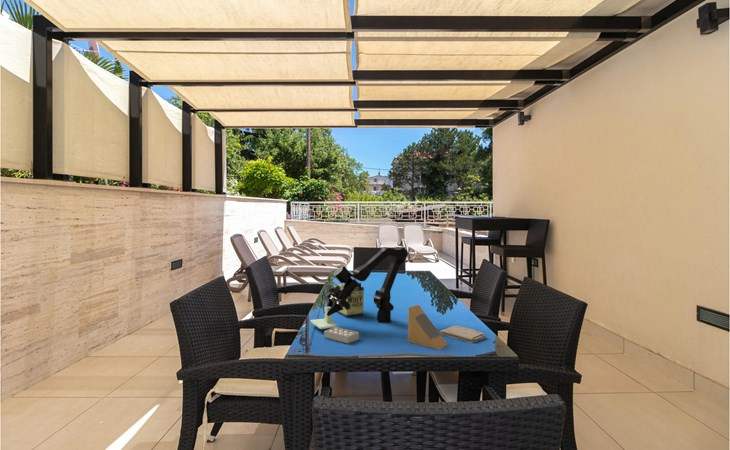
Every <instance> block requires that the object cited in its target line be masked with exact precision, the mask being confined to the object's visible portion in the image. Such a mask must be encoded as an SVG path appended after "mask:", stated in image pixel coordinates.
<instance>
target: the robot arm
mask: <svg viewBox="0 0 730 450" xmlns="http://www.w3.org/2000/svg"><path fill="white" fill-rule="evenodd" d="M388 256H390V260H391V262H390V264H389V268H388V270H387V274H385V277H384V281H383V283H382V285H381V288H380V289H379V290H378V289H376V290H375V292H374V295H373V303H374V305H375V306H376V308H377V309H378V310H377V311H376V317H377V319H376V320H377V323H389V324H390V323H391V322H392V317H391V315H392V311H394V308H395V306H394V305H393V303H391V292H392V289H393V286H394V282H395V280H396V277H397V274H398V272H399V269H400V267H401V265H403V264H404V263H405V261H406V259H407V258H408V256H409V252H408V250H407V249H406V248H405V247H398V246H397V247H395V248H391V247H388V246H387V247H385V246H384V247H382V248H381V249H380V250H379V251H378V252H377V253H376V254H375V255H373V257H371V258H370V259H369V260H368V261H366V263H364V264H362V265H360V266H358V267H356V268H354V269H353V270H352V271H349V270H348V269H347V268H346V266H345V265H342V266H339V267H338V268H337V269H335V270H334V272H333V277H334V278H335V279H336V280H337V281H338V282H339V284H344V285H343V286H342V287H339V286H336V285H331V284H328V285H327V287H326V289H325V291H327V292H326V293H325V294H324V296H325V297H326V298H327V304H326V306H325V307H328V306H330V307H331V308H330V310H329V311H328V313H327V316H329V315H332V316H333V315H334V314H335V313H337V312H338V311H341V310H343V307H344V308H345V309H346V310H347V311H348V310H349V309H350V304H349V303H348V302H347V301H346V299H347V298H348V297H351V294H352V292H353V291H354V290H355V289H356V288H360V289H361V286H362V283H361V282H365V281H366V280H367V279H369V277H370V275H371V273H372V271H373V270H374V269H375V268H377V266H378V265H380V264H381V263H382V262H383V261H384V260H385V259H386V258H387V257H388ZM358 281H359V282H358ZM323 314H324V315H325V310H323Z"/></svg>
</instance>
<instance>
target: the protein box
mask: <svg viewBox="0 0 730 450" xmlns="http://www.w3.org/2000/svg"><path fill="white" fill-rule="evenodd" d="M344 284H345V283H335V285H336V286H339V287H342V286H343V285H344ZM335 285H334V286H335ZM364 300H365V287H364V286H363V285H361V289H360V288H356V289H355V290H354V291H353V292H352V294H351V297H348V298H347V299H346V301H347V302H348V303H349V304H350V309H349V310H348V311H347V310H346V309H345V308H344V307H343V310H341V311H338V312H336V313H337V314H338V315H341V316H343V317H344V318H347V319H348V318H355V317H362V316H363V317H364V310H365V309H364V302H365V301H364Z"/></svg>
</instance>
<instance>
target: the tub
mask: <svg viewBox="0 0 730 450" xmlns="http://www.w3.org/2000/svg"><path fill="white" fill-rule="evenodd" d="M359 337H360V331H356V330H351V329H346V328H342V327H333V328H328V329H326V330H324V331H323V338H324V339H326V340H330V341H335V342H338V343H343V344H347V345H348V344H351V343H353V342H356V341H358V340H359V339H360V338H359Z"/></svg>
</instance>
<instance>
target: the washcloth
mask: <svg viewBox="0 0 730 450" xmlns="http://www.w3.org/2000/svg"><path fill="white" fill-rule="evenodd" d="M439 333H440V335H441V334H442V335H441V336H445V335H446V337H449V336H450V337H449V338H452V337H453V339H456V340H459V339H460V341H463V340H464V342H466V341H467V343H470V342H471V343H470V344H473V343H478V342H480V341H482V340H481V339H483V340H484V338H485V339H487V335H486V334H485V333H484V332H480V331H478V330H476V329H473V328H469V327H465V326H461V325H460V326H459V325H452V326H449V327H448V328H444V329H442V330H440V331H439ZM479 340H480V341H479ZM477 341H478V342H477Z"/></svg>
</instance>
